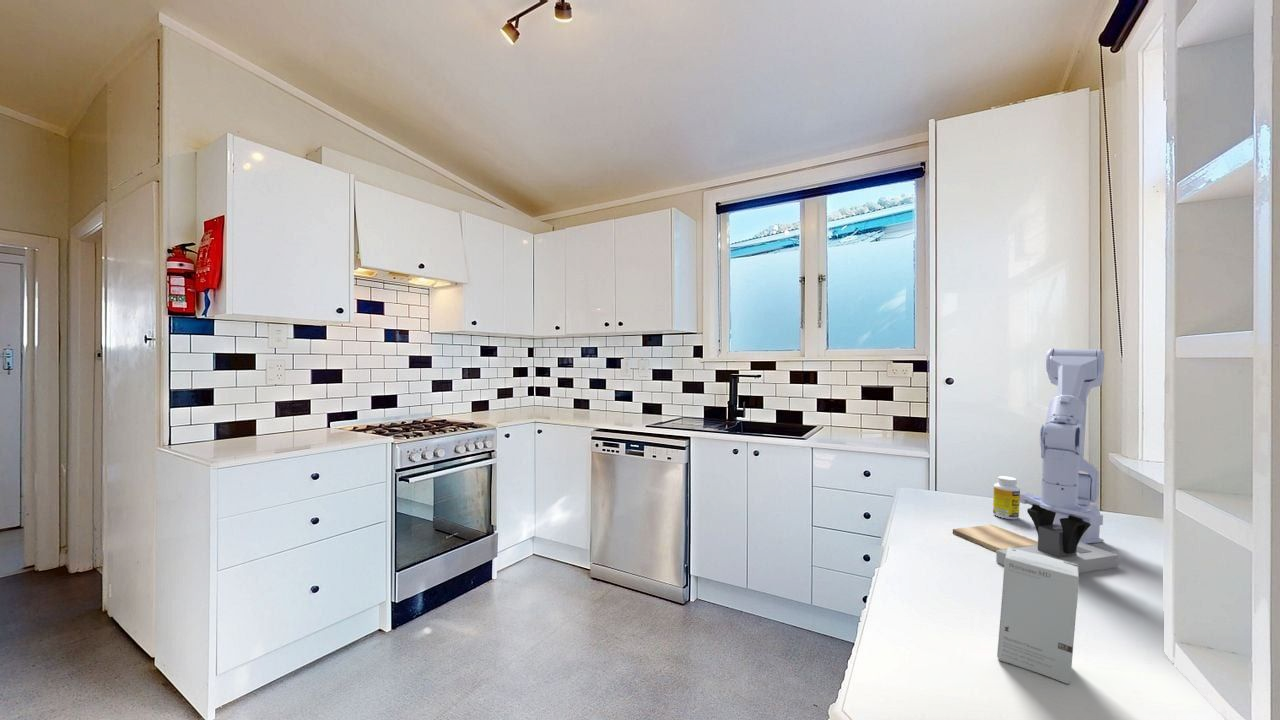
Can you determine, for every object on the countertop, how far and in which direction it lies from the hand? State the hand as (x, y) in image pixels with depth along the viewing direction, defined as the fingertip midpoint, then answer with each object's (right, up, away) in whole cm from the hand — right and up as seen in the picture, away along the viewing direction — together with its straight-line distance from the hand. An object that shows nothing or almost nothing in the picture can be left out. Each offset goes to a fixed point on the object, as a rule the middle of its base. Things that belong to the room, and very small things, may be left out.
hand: (1057, 548), depth 103 cm
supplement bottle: (+11, -3, +29) cm, 31 cm away
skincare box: (-29, -4, -32) cm, 44 cm away
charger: (0, -3, 0) cm, 3 cm away
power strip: (0, -3, 0) cm, 3 cm away
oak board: (-3, -3, +13) cm, 13 cm away
